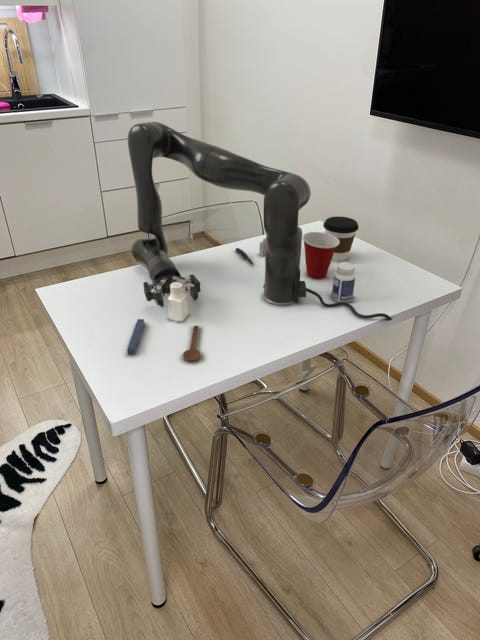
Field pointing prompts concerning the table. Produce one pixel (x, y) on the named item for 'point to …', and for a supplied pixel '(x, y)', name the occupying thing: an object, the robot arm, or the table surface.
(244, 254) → the folding knife
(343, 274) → the pill bottle
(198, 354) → the wooden spoon
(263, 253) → the lighter
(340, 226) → the coffee cup
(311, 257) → the plastic cup
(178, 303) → the salt shaker
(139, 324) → the blue stick
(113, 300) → the table surface
